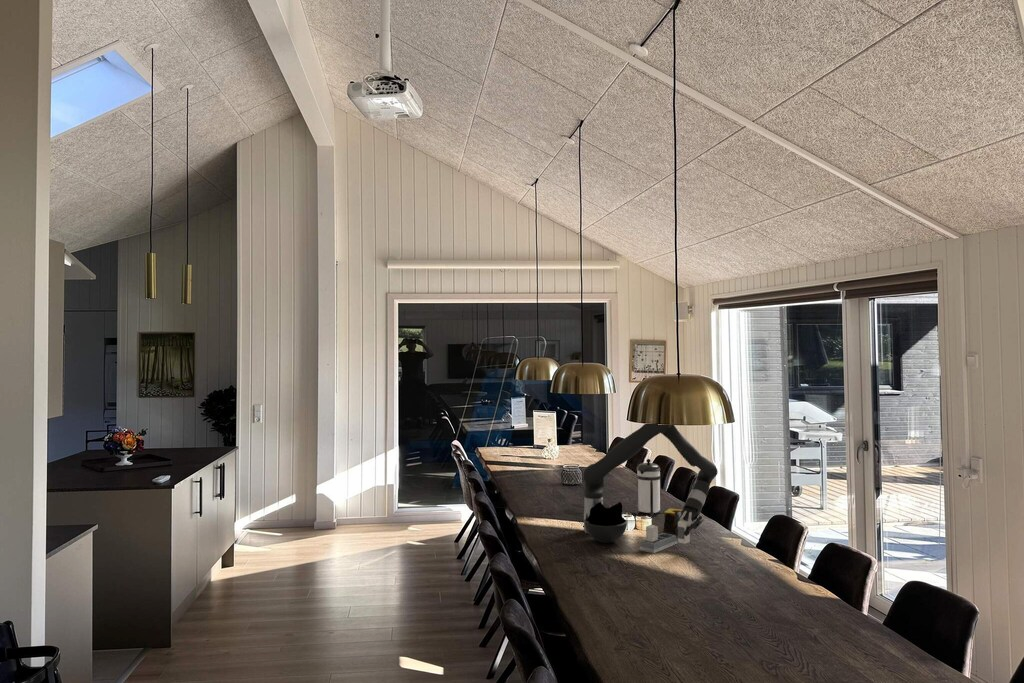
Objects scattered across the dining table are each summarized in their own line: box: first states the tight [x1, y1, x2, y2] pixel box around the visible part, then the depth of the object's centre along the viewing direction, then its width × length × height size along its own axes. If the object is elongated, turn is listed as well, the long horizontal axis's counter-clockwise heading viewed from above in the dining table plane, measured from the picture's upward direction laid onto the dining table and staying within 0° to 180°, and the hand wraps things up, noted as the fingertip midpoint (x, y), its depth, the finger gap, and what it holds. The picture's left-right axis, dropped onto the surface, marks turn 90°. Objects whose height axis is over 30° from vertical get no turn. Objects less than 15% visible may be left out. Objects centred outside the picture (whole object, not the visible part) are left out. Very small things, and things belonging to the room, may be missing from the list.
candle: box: [663, 507, 683, 535], centre depth 343 cm, size 10×10×10 cm
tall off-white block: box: [677, 520, 691, 544], centre depth 306 cm, size 4×4×9 cm
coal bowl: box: [583, 501, 628, 544], centre depth 324 cm, size 20×20×19 cm
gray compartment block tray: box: [639, 524, 678, 554], centre depth 315 cm, size 20×7×10 cm, turn 136°
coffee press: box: [634, 458, 663, 517], centre depth 381 cm, size 17×16×30 cm
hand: (681, 533), depth 304 cm, fingers closed on tall off-white block, 3 cm apart
